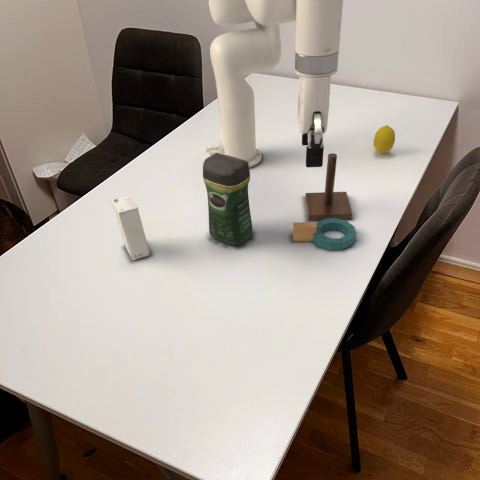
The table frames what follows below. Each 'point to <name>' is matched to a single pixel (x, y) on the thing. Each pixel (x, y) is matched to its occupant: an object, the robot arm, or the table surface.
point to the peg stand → (328, 198)
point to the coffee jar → (228, 198)
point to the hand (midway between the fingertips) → (311, 155)
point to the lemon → (384, 139)
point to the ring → (314, 233)
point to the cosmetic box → (131, 227)
